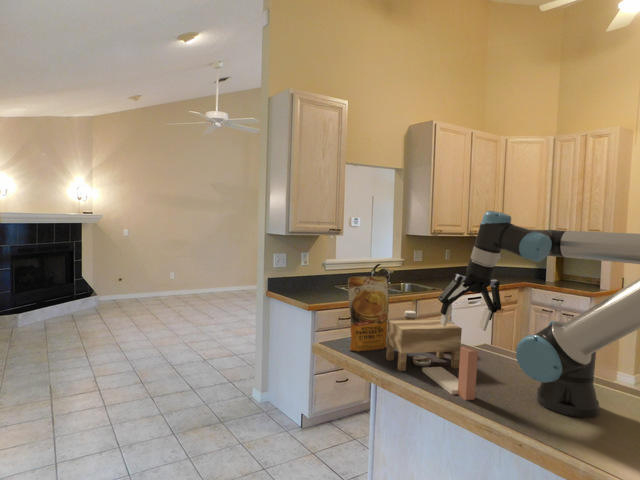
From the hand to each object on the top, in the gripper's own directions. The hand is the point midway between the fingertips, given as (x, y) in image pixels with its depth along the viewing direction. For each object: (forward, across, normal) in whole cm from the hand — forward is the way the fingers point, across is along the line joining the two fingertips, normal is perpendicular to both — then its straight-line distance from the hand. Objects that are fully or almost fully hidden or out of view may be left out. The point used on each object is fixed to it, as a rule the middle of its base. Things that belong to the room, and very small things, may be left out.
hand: (462, 326), depth 127 cm
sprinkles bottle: (+26, -1, -33) cm, 42 cm away
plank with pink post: (+17, +2, +5) cm, 18 cm away
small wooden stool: (+22, +3, -12) cm, 25 cm away
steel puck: (+22, +3, -12) cm, 25 cm away
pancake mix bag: (+28, +18, -29) cm, 43 cm away
